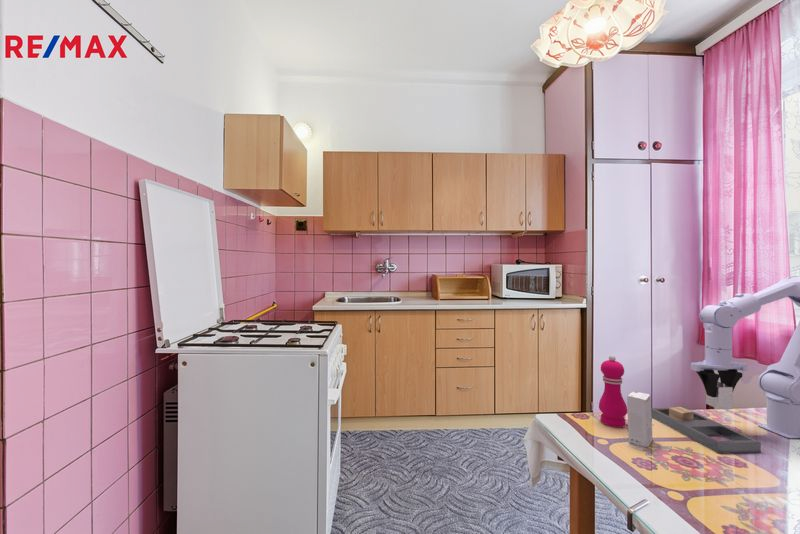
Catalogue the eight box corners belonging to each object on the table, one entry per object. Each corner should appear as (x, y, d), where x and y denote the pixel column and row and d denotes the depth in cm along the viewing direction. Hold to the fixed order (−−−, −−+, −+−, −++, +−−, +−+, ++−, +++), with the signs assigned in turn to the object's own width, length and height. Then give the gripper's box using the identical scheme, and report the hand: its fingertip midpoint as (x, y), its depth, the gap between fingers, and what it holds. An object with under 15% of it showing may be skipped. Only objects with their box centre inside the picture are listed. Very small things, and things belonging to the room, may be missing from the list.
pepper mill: (632, 429, 99) (631, 358, 99) (604, 427, 100) (603, 357, 100) (621, 419, 106) (620, 353, 106) (595, 417, 107) (594, 352, 108)
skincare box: (647, 448, 88) (647, 400, 88) (627, 442, 91) (626, 395, 92) (653, 440, 92) (652, 394, 93) (633, 434, 96) (632, 390, 96)
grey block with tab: (719, 403, 101) (718, 379, 101) (732, 408, 97) (732, 384, 97) (705, 403, 100) (705, 379, 101) (718, 409, 96) (718, 384, 97)
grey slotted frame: (684, 415, 108) (684, 407, 108) (760, 452, 86) (760, 442, 86) (650, 416, 108) (650, 408, 108) (718, 453, 86) (717, 443, 86)
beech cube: (679, 420, 105) (679, 406, 105) (693, 425, 101) (693, 411, 101) (669, 421, 104) (668, 407, 104) (682, 427, 100) (682, 413, 101)
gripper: (729, 344, 103) (730, 390, 103) (681, 345, 103) (682, 391, 102) (754, 350, 96) (755, 399, 96) (703, 350, 95) (703, 400, 95)
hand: (719, 396), depth 99 cm, fingers closed on grey block with tab, 4 cm apart
